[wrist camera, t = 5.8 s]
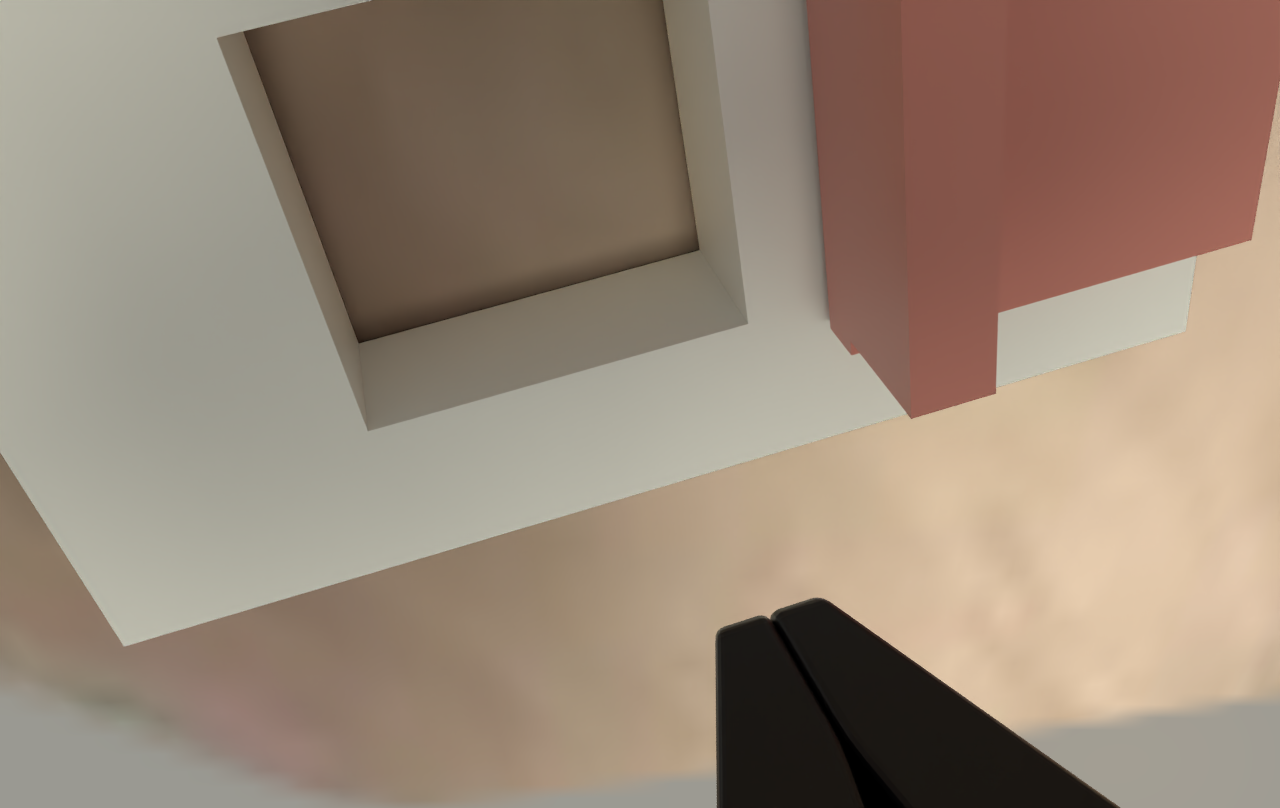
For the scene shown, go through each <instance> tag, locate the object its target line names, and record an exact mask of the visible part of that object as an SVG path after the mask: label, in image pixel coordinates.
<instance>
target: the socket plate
mask: <svg viewBox="0 0 1280 808" xmlns="http://www.w3.org/2000/svg"><path fill="white" fill-rule="evenodd" d="M367 1H371V0H0V453H1V455H2V456H3V458H4V459H5V461H6V462H7V464H8V465H9V467H10V469H11V470H12V472H13V473H14V475H15V476H16V478H17V480H18V481H19V483H20V484H21V486H22V487H23V489H24V491H25V492H26V494H27V495H28V497H29V498H30V500H31V502H32V503H33V505H34V506H35V508H36V509H37V511H38V512H39V514H40V516H41V517H42V519H43V520H44V522H45V523H46V525H47V527H48V528H49V530H50V531H51V533H52V534H53V536H54V538H55V539H56V541H57V542H58V544H59V545H60V547H61V549H62V550H63V552H64V553H65V555H66V556H67V558H68V559H69V561H70V563H71V564H72V566H73V567H74V569H75V570H76V572H77V574H78V575H79V577H80V578H81V580H82V581H83V583H84V585H85V586H86V588H87V589H88V591H89V592H90V594H91V596H92V597H93V599H94V600H95V602H96V603H97V605H98V606H99V608H100V610H101V611H102V613H103V614H104V616H105V617H106V619H107V621H108V622H109V624H110V625H111V627H112V628H113V630H114V632H115V633H116V635H117V636H118V638H119V639H120V641H121V642H122V644H123V646H128V645H131V644H135V643H138V642H141V641H145V640H148V639H151V638H155V637H158V636H161V635H165V634H168V633H172V632H175V631H178V630H182V629H185V628H188V627H192V626H195V625H199V624H202V623H205V622H209V621H212V620H215V619H219V618H222V617H225V616H229V615H232V614H236V613H239V612H242V611H246V610H249V609H252V608H256V607H259V606H263V605H266V604H269V603H273V602H276V601H279V600H283V599H286V598H289V597H293V596H296V595H300V594H303V593H306V592H310V591H313V590H316V589H320V588H323V587H327V586H330V585H333V584H337V583H340V582H343V581H347V580H350V579H353V578H357V577H360V576H364V575H367V574H370V573H374V572H377V571H380V570H384V569H387V568H390V567H394V566H397V565H401V564H404V563H407V562H411V561H414V560H417V559H421V558H424V557H428V556H431V555H434V554H438V553H441V552H444V551H448V550H451V549H454V548H458V547H461V546H465V545H468V544H471V543H475V542H478V541H481V540H485V539H488V538H492V537H495V536H498V535H502V534H505V533H508V532H512V531H515V530H518V529H522V528H525V527H529V526H532V525H535V524H539V523H542V522H545V521H549V520H552V519H556V518H559V517H562V516H566V515H569V514H572V513H576V512H579V511H582V510H586V509H589V508H593V507H596V506H599V505H603V504H606V503H609V502H613V501H616V500H620V499H623V498H626V497H630V496H633V495H636V494H640V493H643V492H646V491H650V490H653V489H657V488H660V487H663V486H667V485H670V484H673V483H677V482H680V481H684V480H687V479H690V478H694V477H697V476H700V475H704V474H707V473H710V472H714V471H717V470H721V469H724V468H727V467H731V466H734V465H737V464H741V463H744V462H748V461H751V460H754V459H758V458H761V457H764V456H768V455H771V454H774V453H778V452H781V451H785V450H788V449H791V448H795V447H798V446H801V445H805V444H808V443H812V442H815V441H818V440H822V439H825V438H828V437H832V436H835V435H838V434H842V433H845V432H849V431H852V430H855V429H859V428H862V427H865V426H869V425H872V424H876V423H879V422H882V421H886V420H889V419H892V418H896V417H899V416H902V415H906V414H907V413H906V411H905V410H904V409H903V408H902V406H901V405H900V404H899V403H898V401H897V400H896V399H895V397H894V396H893V395H892V394H891V392H890V391H889V390H888V389H887V387H886V386H885V385H884V383H883V382H882V381H881V380H880V378H879V377H878V376H877V375H876V373H875V372H874V371H873V369H872V368H871V367H870V366H869V364H868V363H867V362H866V360H865V359H864V358H863V357H862V355H861V354H860V353H858V354H855V355H851V354H850V353H849V352H848V350H847V349H846V348H845V347H844V345H843V344H842V343H841V341H840V340H839V339H838V337H837V336H836V335H835V334H834V332H833V331H832V330H831V328H830V316H829V302H828V289H827V275H826V262H825V248H824V235H823V221H822V207H821V194H820V180H819V167H818V153H817V140H816V126H815V112H814V99H813V85H812V72H811V58H810V45H809V31H808V17H807V4H806V0H663V6H664V13H665V19H666V26H667V33H668V40H669V46H670V53H671V60H672V67H673V74H674V80H675V87H676V94H677V101H678V107H679V114H680V121H681V128H682V134H683V141H684V148H685V155H686V162H687V168H688V175H689V182H690V189H691V195H692V202H693V209H694V216H695V222H696V229H697V236H698V243H699V250H698V251H695V252H691V253H687V254H684V255H680V256H677V257H673V258H669V259H666V260H662V261H658V262H655V263H651V264H647V265H644V266H640V267H636V268H633V269H629V270H625V271H622V272H618V273H614V274H611V275H607V276H604V277H600V278H596V279H593V280H589V281H585V282H582V283H578V284H574V285H571V286H567V287H563V288H560V289H556V290H552V291H549V292H545V293H542V294H538V295H534V296H531V297H527V298H523V299H520V300H516V301H512V302H509V303H505V304H501V305H498V306H494V307H490V308H487V309H483V310H480V311H476V312H472V313H469V314H465V315H461V316H458V317H454V318H450V319H447V320H443V321H439V322H436V323H432V324H428V325H425V326H421V327H418V328H414V329H410V330H407V331H403V332H399V333H396V334H392V335H388V336H385V337H381V338H377V339H374V340H370V341H366V342H363V343H358V341H357V338H356V335H355V333H354V330H353V327H352V324H351V322H350V319H349V316H348V314H347V311H346V308H345V306H344V303H343V300H342V297H341V295H340V292H339V289H338V287H337V284H336V281H335V279H334V276H333V273H332V270H331V268H330V265H329V262H328V260H327V257H326V254H325V252H324V249H323V246H322V243H321V241H320V238H319V235H318V233H317V230H316V227H315V225H314V222H313V219H312V216H311V214H310V211H309V208H308V206H307V203H306V200H305V197H304V195H303V192H302V189H301V187H300V184H299V181H298V179H297V176H296V173H295V170H294V168H293V165H292V162H291V160H290V157H289V154H288V152H287V149H286V146H285V143H284V141H283V138H282V135H281V133H280V130H279V127H278V125H277V122H276V119H275V116H274V114H273V111H272V108H271V106H270V103H269V100H268V98H267V95H266V92H265V89H264V87H263V84H262V81H261V79H260V76H259V73H258V71H257V68H256V65H255V62H254V60H253V57H252V54H251V52H250V49H249V46H248V44H247V41H246V38H245V35H244V33H243V31H247V30H251V29H255V28H259V27H263V26H267V25H272V24H276V23H280V22H284V21H288V20H292V19H296V18H301V17H305V16H309V15H313V14H317V13H321V12H325V11H330V10H334V9H338V8H342V7H346V6H350V5H355V4H359V3H363V2H367ZM1196 257H1197V256H1194V257H1190V258H1187V259H1183V260H1180V261H1176V262H1173V263H1169V264H1166V265H1163V266H1159V267H1156V268H1152V269H1149V270H1145V271H1142V272H1138V273H1135V274H1131V275H1128V276H1125V277H1121V278H1118V279H1114V280H1111V281H1107V282H1104V283H1100V284H1097V285H1093V286H1090V287H1086V288H1083V289H1080V290H1076V291H1073V292H1069V293H1066V294H1062V295H1059V296H1055V297H1052V298H1048V299H1045V300H1042V301H1038V302H1035V303H1031V304H1028V305H1024V306H1021V307H1017V308H1014V309H1010V310H1007V311H1003V312H1000V313H998V338H997V371H996V388H997V387H1000V386H1004V385H1007V384H1010V383H1014V382H1017V381H1020V380H1024V379H1027V378H1030V377H1034V376H1037V375H1041V374H1044V373H1047V372H1051V371H1054V370H1057V369H1061V368H1064V367H1068V366H1071V365H1074V364H1078V363H1081V362H1084V361H1088V360H1091V359H1094V358H1098V357H1101V356H1105V355H1108V354H1111V353H1115V352H1118V351H1121V350H1125V349H1128V348H1132V347H1135V346H1138V345H1142V344H1145V343H1148V342H1152V341H1155V340H1158V339H1162V338H1165V337H1169V336H1172V335H1175V334H1179V333H1182V332H1185V331H1186V325H1187V318H1188V311H1189V304H1190V297H1191V291H1192V284H1193V277H1194V270H1195V263H1196Z"/></svg>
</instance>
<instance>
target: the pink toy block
mask: <svg viewBox="0 0 1280 808" xmlns="http://www.w3.org/2000/svg"><path fill="white" fill-rule="evenodd" d="M806 4H807V17H808V31H809V45H810V58H811V72H812V85H813V99H814V112H815V126H816V140H817V153H818V167H819V180H820V194H821V207H822V221H823V235H824V248H825V262H826V275H827V289H828V302H829V316H830V328H831V330H832V331H833V332H834V334H835V335H836V336H837V337H838V339H839V340H840V341H841V343H842V344H843V345H844V347H845V348H846V349H847V350H848V352H849V353H850V354H851V355H855V354H858V353H860V354H861V355H862V357H863V358H864V359H865V360H866V362H867V363H868V364H869V366H870V367H871V368H872V369H873V371H874V372H875V373H876V375H877V376H878V377H879V378H880V380H881V381H882V382H883V383H884V385H885V386H886V387H887V389H888V390H889V391H890V392H891V394H892V395H893V396H894V397H895V399H896V400H897V401H898V403H899V404H900V405H901V406H902V408H903V409H904V410H905V411H906V413H907V414H908V415H909V417H910V418H911V419H912V418H915V417H919V416H922V415H925V414H929V413H932V412H935V411H939V410H942V409H945V408H949V407H952V406H956V405H959V404H962V403H966V402H969V401H972V400H976V399H979V398H982V397H986V396H989V395H992V394H996V371H997V338H998V313H1000V312H1003V311H1007V310H1010V309H1014V308H1017V307H1021V306H1024V305H1028V304H1031V303H1035V302H1038V301H1042V300H1045V299H1048V298H1052V297H1055V296H1059V295H1062V294H1066V293H1069V292H1073V291H1076V290H1080V289H1083V288H1086V287H1090V286H1093V285H1097V284H1100V283H1104V282H1107V281H1111V280H1114V279H1118V278H1121V277H1125V276H1128V275H1131V274H1135V273H1138V272H1142V271H1145V270H1149V269H1152V268H1156V267H1159V266H1163V265H1166V264H1169V263H1173V262H1176V261H1180V260H1183V259H1187V258H1190V257H1194V256H1197V255H1201V254H1204V253H1207V252H1211V251H1214V250H1218V249H1221V248H1225V247H1228V246H1232V245H1235V244H1239V243H1242V242H1246V241H1249V240H1251V239H1252V233H1253V227H1254V222H1255V216H1256V211H1257V205H1258V199H1259V194H1260V188H1261V182H1262V177H1263V171H1264V166H1265V160H1266V154H1267V149H1268V143H1269V137H1270V132H1271V126H1272V121H1273V115H1274V109H1275V104H1276V98H1277V92H1278V87H1279V81H1280V0H806Z"/></svg>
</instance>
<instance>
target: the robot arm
mask: <svg viewBox="0 0 1280 808" xmlns="http://www.w3.org/2000/svg"><path fill="white" fill-rule="evenodd" d="M715 650H716V760H717V808H1120V807H1119V806H1117V805H1116V804H1115V803H1113V802H1112V801H1110V800H1109V799H1107V798H1106V797H1105V796H1103V795H1102V794H1100V793H1099V792H1098V791H1096V790H1095V789H1093V788H1092V787H1090V786H1089V785H1088V784H1086V783H1085V782H1083V781H1082V780H1080V779H1079V778H1077V777H1076V776H1075V775H1074V774H1072V773H1071V772H1069V771H1068V770H1066V769H1065V768H1063V767H1062V766H1061V765H1059V764H1058V763H1057V762H1055V761H1054V760H1052V759H1051V758H1050V757H1048V756H1047V755H1045V754H1044V753H1042V752H1041V751H1040V750H1038V749H1037V748H1035V747H1034V746H1033V745H1031V744H1030V743H1028V742H1027V741H1026V740H1024V739H1023V738H1021V737H1020V736H1018V735H1017V734H1016V733H1014V732H1013V731H1011V730H1010V729H1009V728H1007V727H1006V726H1004V725H1003V724H1002V723H1000V722H999V721H997V720H996V719H994V718H993V717H992V716H990V715H989V714H987V713H986V712H985V711H983V710H982V709H980V708H979V707H978V706H976V705H975V704H973V703H972V702H970V701H969V700H968V699H966V698H965V697H963V696H962V695H961V694H959V693H958V692H956V691H955V690H954V689H952V688H951V687H949V686H948V685H946V684H945V683H944V682H942V681H941V680H939V679H938V678H937V677H935V676H934V675H932V674H931V673H930V672H928V671H927V670H925V669H924V668H922V667H921V666H920V665H918V664H917V663H915V662H914V661H913V660H911V659H910V658H908V657H907V656H906V655H904V654H903V653H901V652H900V651H898V650H897V649H896V648H894V647H893V646H891V645H890V644H889V643H887V642H886V641H884V640H883V639H882V638H880V637H879V636H877V635H876V634H874V633H873V632H872V631H870V630H869V629H867V628H866V627H865V626H863V625H862V624H860V623H859V622H858V621H856V620H855V619H853V618H852V617H850V616H849V615H848V614H846V613H845V612H843V611H842V610H841V609H839V608H838V607H836V606H835V605H834V604H832V603H831V602H829V601H827V600H825V599H822V598H812V599H809V600H805V601H802V602H799V603H796V604H793V605H790V606H787V607H784V608H781V609H778V610H776V611H775V612H774V613H773V614H772V615H771V618H770V619H769V618H767V617H766V616H756V617H753V618H750V619H747V620H744V621H740V622H737V623H734V624H731V625H728V626H725V627H722V628H721V629H720V630H719V631H718V632H717V634H716V643H715Z"/></svg>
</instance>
